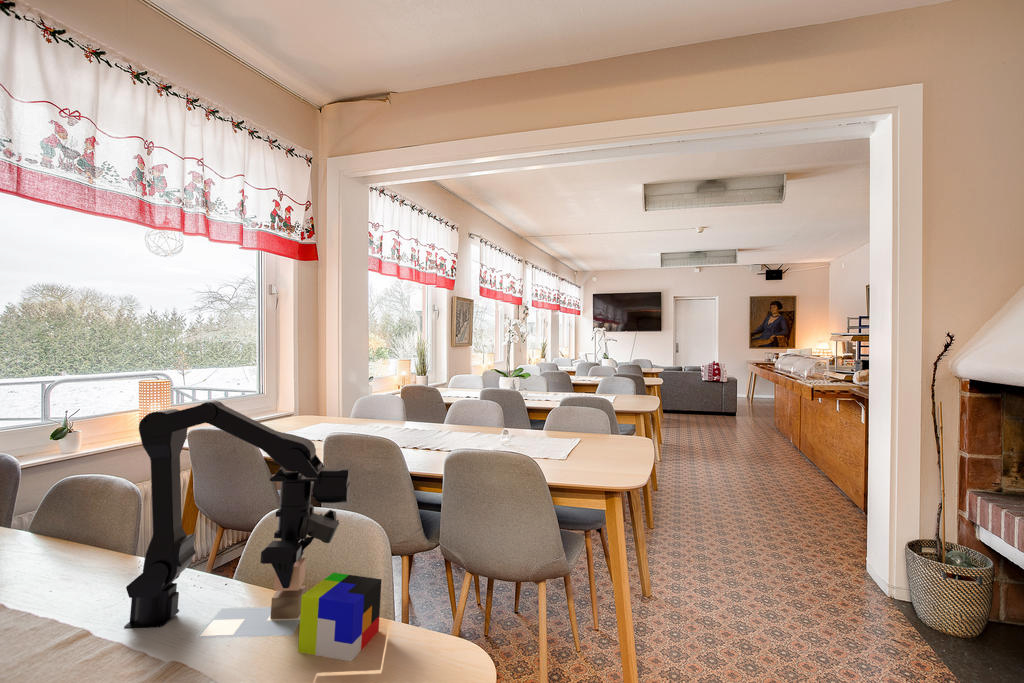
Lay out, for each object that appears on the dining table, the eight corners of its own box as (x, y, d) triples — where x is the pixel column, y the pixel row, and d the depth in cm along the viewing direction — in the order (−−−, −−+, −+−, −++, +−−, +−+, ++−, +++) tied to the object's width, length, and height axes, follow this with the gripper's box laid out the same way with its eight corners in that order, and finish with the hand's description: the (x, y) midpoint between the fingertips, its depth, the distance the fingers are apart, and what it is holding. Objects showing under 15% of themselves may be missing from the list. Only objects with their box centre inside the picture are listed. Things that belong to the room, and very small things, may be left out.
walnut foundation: (270, 619, 95) (271, 597, 96) (278, 606, 100) (279, 586, 101) (297, 618, 96) (299, 597, 96) (304, 605, 101) (305, 585, 101)
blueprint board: (195, 640, 88) (195, 638, 88) (222, 609, 99) (222, 606, 99) (292, 637, 90) (292, 634, 90) (308, 606, 102) (308, 604, 102)
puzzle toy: (350, 664, 83) (354, 603, 84) (297, 655, 85) (301, 595, 86) (378, 633, 93) (381, 579, 94) (330, 625, 95) (333, 572, 96)
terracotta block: (274, 590, 96) (275, 567, 96) (281, 580, 100) (282, 558, 101) (298, 590, 97) (300, 566, 97) (304, 580, 101) (306, 557, 101)
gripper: (326, 517, 91) (321, 604, 90) (345, 491, 110) (340, 563, 109) (262, 517, 90) (256, 605, 89) (292, 491, 108) (287, 564, 107)
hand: (289, 582), depth 99 cm, fingers closed on terracotta block, 4 cm apart
